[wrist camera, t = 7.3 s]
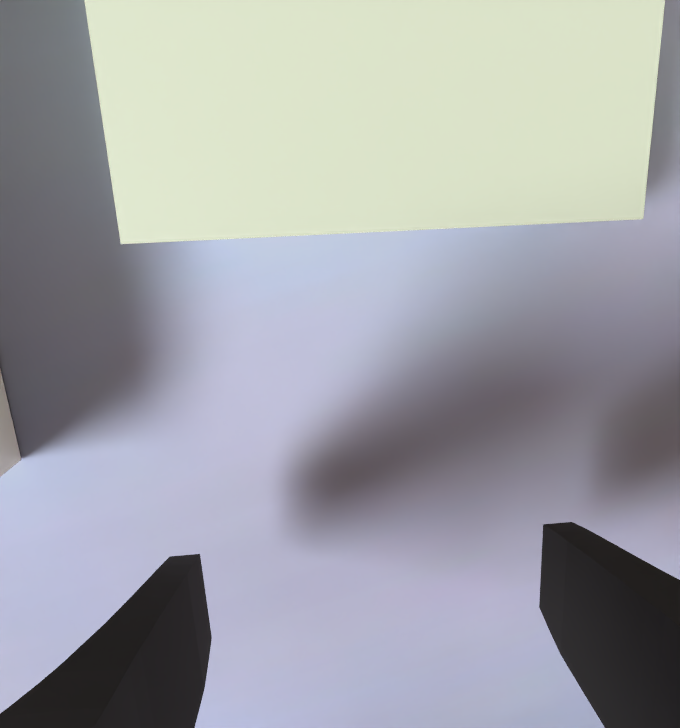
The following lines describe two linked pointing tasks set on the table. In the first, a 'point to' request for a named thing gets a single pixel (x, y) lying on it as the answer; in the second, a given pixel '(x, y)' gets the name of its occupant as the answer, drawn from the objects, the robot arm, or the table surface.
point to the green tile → (373, 113)
